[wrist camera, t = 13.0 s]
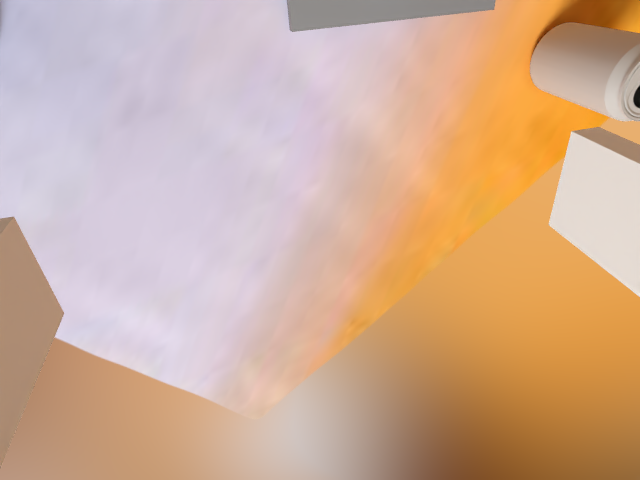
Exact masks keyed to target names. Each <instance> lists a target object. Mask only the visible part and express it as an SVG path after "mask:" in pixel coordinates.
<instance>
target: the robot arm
mask: <svg viewBox="0 0 640 480" xmlns="http://www.w3.org/2000/svg"><path fill="white" fill-rule="evenodd" d="M549 226H551V227H552V228H554V230H556V231H557V232H558V233H560V234H561V235H562V236H563V237H565V238H566V239H567V240H569V241H570V242H571V243H572V244H573V245H575V246H576V247H577V248H579V249H580V250H581V251H582V252H584V253H585V254H586V255H587V256H589V257H590V258H591V259H593V260H594V261H595V262H596V263H598V264H599V265H600V266H601V267H603V268H604V269H605V270H606V271H608V272H609V273H610V274H611V275H613V276H614V277H615V278H617V279H618V280H619V281H620V282H622V283H623V284H624V285H626V286H627V287H628V288H629V289H631V290H632V291H633V292H634V293H636V294H637V295H638V296H639V297H640V145H639V144H636V143H634V142H632V141H629V140H627V139H625V138H622V137H620V136H618V135H616V134H613V133H611V132H609V131H606V130H604V129H602V128H600V127H596V128H590V129H583V130H577V131H572V132H571V136H570V140H569V144H568V148H567V152H566V156H565V160H564V165H563V168H562V173H561V177H560V181H559V185H558V189H557V193H556V197H555V201H554V205H553V209H552V213H551V217H550V222H549ZM63 315H64V312H63V310H62V308H61V306H60V304H59V303H58V301H57V299H56V297H55V295H54V293H53V291H52V289H51V287H50V285H49V283H48V281H47V279H46V277H45V276H44V274H43V272H42V270H41V268H40V266H39V264H38V262H37V260H36V258H35V256H34V254H33V252H32V250H31V249H30V247H29V245H28V243H27V241H26V239H25V237H24V235H23V233H22V231H21V229H20V227H19V225H18V224H17V222H16V220H15V218H14V217H8V218H2V219H0V468H1V465H2V463H3V460H4V458H5V455H6V453H7V451H8V448H9V446H10V443H11V441H12V438H13V436H14V434H15V431H16V429H17V426H18V424H19V422H20V419H21V416H22V414H23V412H24V409H25V407H26V405H27V402H28V399H29V397H30V395H31V392H32V390H33V388H34V385H35V383H36V380H37V378H38V375H39V373H40V371H41V368H42V366H43V363H44V361H45V358H46V356H47V354H48V351H49V349H50V346H51V344H52V341H53V339H54V337H55V334H56V332H57V329H58V327H59V325H60V322H61V320H62V317H63Z"/></svg>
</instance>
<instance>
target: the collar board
mask: <svg viewBox="0 0 640 480" xmlns="http://www.w3.org/2000/svg"><path fill="white" fill-rule="evenodd" d="M287 5H288V15H289V25H290V30H291V31H292V32H295V31H304V30H313V29H322V28H331V27H340V26H349V25H358V24H368V23H377V22H386V21H395V20H404V19H413V18H422V17H431V16H440V15H449V14H458V13H467V12H477V11H486V10H494V7H495V0H287Z"/></svg>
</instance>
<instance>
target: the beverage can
mask: <svg viewBox="0 0 640 480" xmlns="http://www.w3.org/2000/svg"><path fill="white" fill-rule="evenodd" d="M530 75H531V78H532V81H533V83H534V84H535V86H536V87H537V88H539V89H540V90H542V91H545V92H547V93H550V94H552V95H555V96H557V97H560V98H562V99H565V100H568V101H570V102H573V103H575V104H578V105H580V106H583V107H586V108H588V109H591V110H593V111H596V112H598V113H601V114H603V115H606V116H609V117H611V118H614V119H616V120H619V121H632V120H634V121H640V33H635V32H629V31H623V30H617V29H611V28H605V27H599V26H593V25H587V24H581V23H576V22H568V23H563V24H560V25H558V26H556V27H554V28H553V29H551V30H550V31H549V32H547V33H546V34H545V35H544V36H543V38H542V39H541V40H540V41H539V43H538V44H537V46H536V48H535V50H534V52H533V55H532V58H531V62H530Z"/></svg>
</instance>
